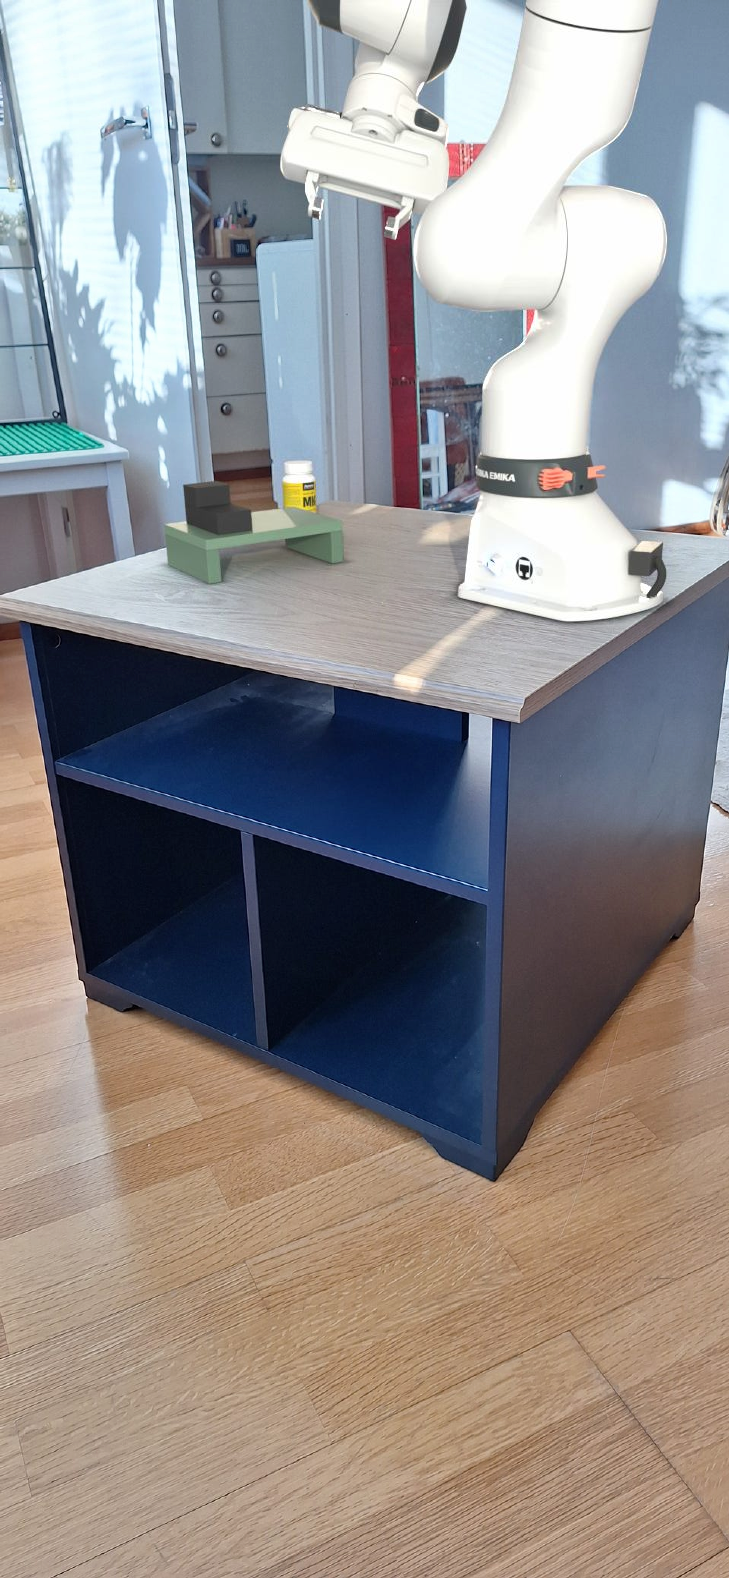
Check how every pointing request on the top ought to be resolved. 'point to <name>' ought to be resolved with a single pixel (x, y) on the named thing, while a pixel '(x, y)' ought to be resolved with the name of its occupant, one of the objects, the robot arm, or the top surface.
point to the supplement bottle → (299, 486)
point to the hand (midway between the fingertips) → (351, 225)
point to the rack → (253, 540)
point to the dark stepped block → (214, 509)
